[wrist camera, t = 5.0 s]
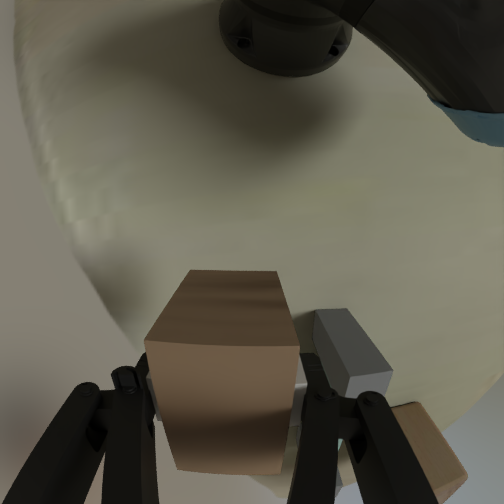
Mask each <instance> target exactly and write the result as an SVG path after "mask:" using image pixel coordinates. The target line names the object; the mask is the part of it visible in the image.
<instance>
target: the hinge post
mask: <svg viewBox="0 0 504 504" xmlns="http://www.w3.org/2000/svg"><path fill="white" fill-rule="evenodd" d="M312 340H313V342H314V345H315V347H316V350H317V352H318V355H319V357H320V360H321V362H322V365H323V367H324V370H325V372H326V375H327V377H328V380H329V382H330V385H331V387H332V388H333V389H335V390H336V391H337V392H338V395H340V396H342V397H347V398H357V397H358V395H359V394H360V393H362V392H365V391H375V392H378V393H380V394H382V395H383V396H385V393H386V391H387V388H388V385H389V382H390V379H391V376H392V373H393V369H392V368H391V366H390V365H389V364H388V362H387V361H386V360H385V358H384V357H383V355H382V354H381V353H380V351H379V350H378V349H377V347H376V346H375V345H374V343H373V342H372V341H371V339H370V338H369V337H368V335H367V334H366V333H365V331H364V330H363V329H362V327H361V326H360V325H359V324H358V322H357V321H356V320H355V318H354V317H353V316H352V314H351V313H350V312H349V311H348V309H347V308H345V309H321V310H315V318H314V327H313V335H312Z"/></svg>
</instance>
